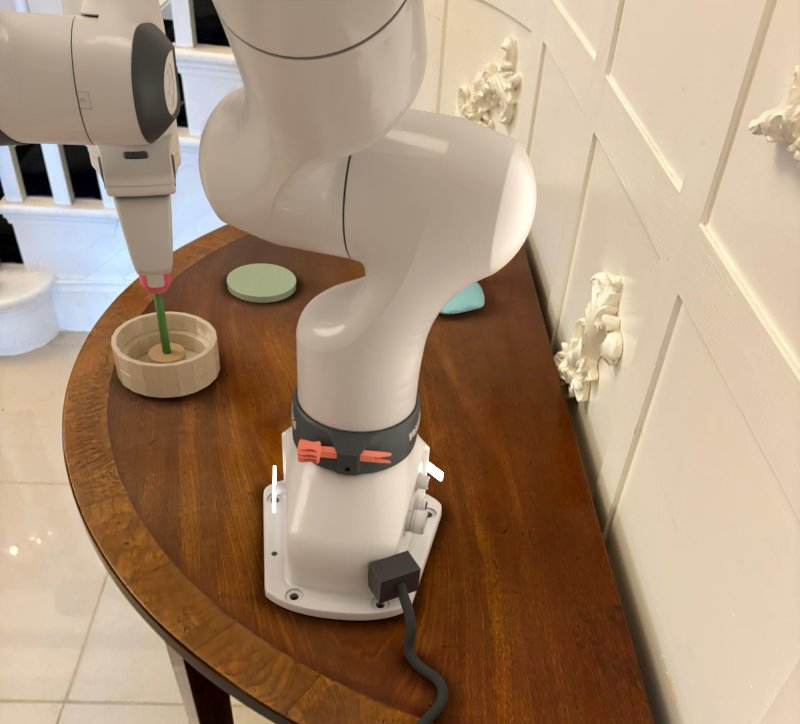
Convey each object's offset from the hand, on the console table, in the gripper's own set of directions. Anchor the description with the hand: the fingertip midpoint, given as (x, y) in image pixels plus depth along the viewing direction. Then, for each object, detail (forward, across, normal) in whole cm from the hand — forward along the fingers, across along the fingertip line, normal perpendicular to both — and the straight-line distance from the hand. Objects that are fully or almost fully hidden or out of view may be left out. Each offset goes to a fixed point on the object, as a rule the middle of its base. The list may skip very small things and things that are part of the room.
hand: (154, 274), depth 89 cm
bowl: (+13, 0, 0) cm, 13 cm away
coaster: (+13, -20, +15) cm, 28 cm away
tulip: (+12, 0, 0) cm, 13 cm away
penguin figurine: (+13, -16, +41) cm, 46 cm away
